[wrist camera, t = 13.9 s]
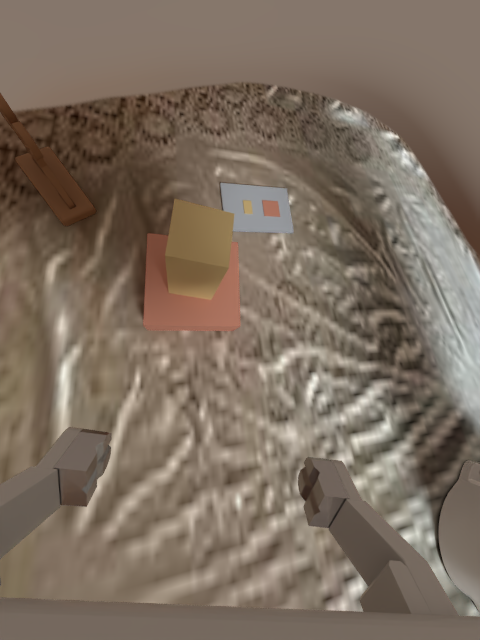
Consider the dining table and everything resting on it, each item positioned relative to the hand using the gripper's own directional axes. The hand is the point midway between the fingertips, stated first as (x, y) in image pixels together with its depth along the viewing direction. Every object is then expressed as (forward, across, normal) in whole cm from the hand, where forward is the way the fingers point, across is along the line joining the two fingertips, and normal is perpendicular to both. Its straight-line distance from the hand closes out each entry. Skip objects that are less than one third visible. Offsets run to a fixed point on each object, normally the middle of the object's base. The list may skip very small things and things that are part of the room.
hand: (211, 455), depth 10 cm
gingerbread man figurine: (+25, +21, -8) cm, 34 cm away
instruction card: (+30, -2, -12) cm, 32 cm away
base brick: (+22, +4, 0) cm, 22 cm away
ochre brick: (+19, +4, -3) cm, 19 cm away
